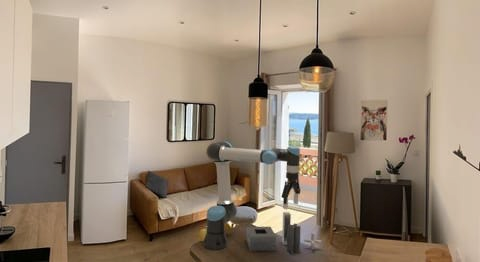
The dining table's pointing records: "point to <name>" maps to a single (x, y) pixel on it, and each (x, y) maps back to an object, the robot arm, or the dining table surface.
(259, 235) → the bore block
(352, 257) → the dining table surface
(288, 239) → the cross bit
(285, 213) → the square bit
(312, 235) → the pipe connector
